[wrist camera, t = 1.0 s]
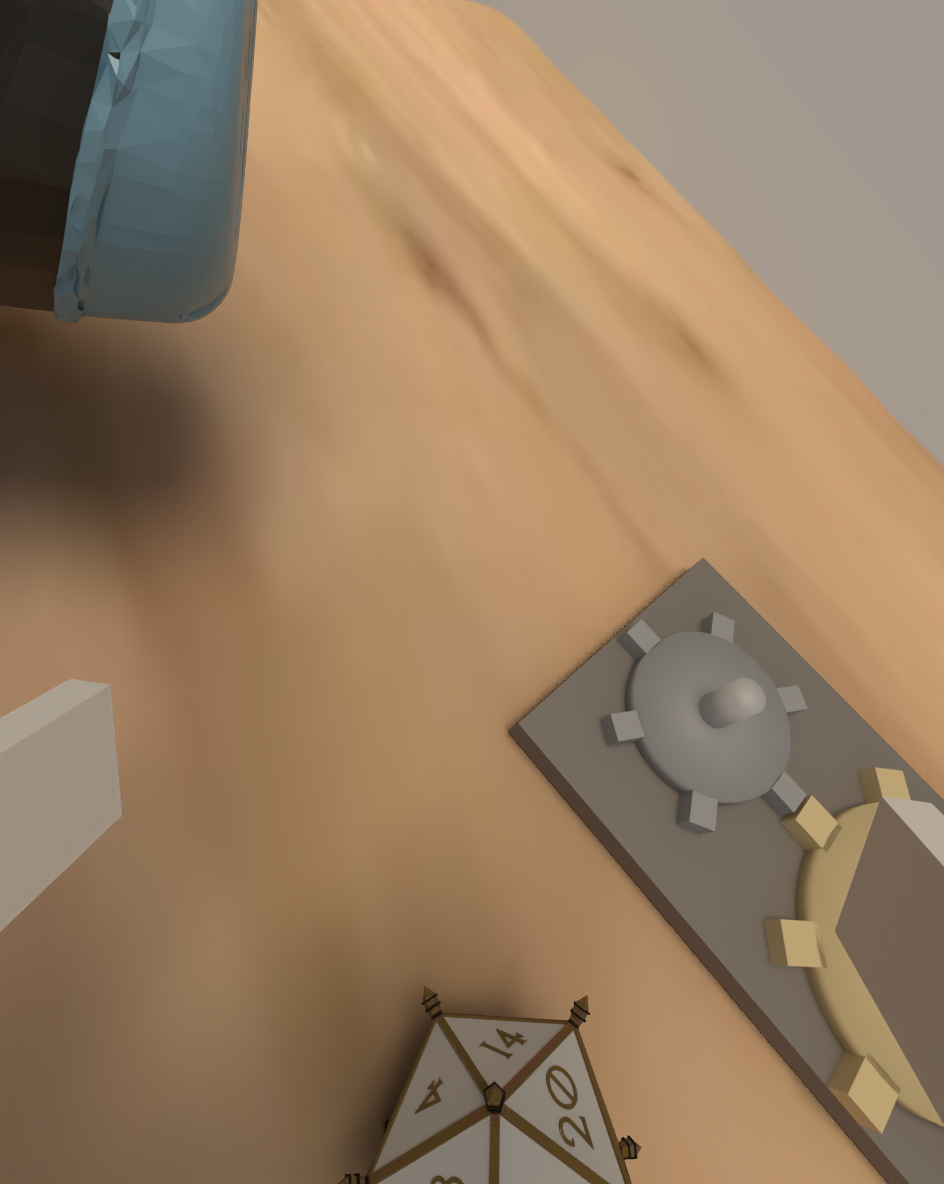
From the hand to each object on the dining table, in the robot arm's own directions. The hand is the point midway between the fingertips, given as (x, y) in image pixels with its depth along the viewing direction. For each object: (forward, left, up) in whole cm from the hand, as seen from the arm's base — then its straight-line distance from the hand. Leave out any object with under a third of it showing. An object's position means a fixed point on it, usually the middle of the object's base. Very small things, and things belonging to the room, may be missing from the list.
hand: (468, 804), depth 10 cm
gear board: (+13, +15, -16) cm, 25 cm away
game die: (+9, -3, -16) cm, 18 cm away
